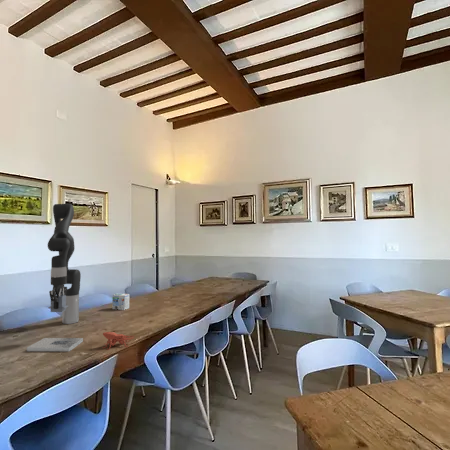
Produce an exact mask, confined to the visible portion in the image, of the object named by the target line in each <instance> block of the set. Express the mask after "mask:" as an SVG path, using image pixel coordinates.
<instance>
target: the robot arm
mask: <svg viewBox="0 0 450 450" xmlns="http://www.w3.org/2000/svg"><path fill="white" fill-rule="evenodd" d="M52 214H53V220H54V225H55V227H54V230H53V234H52V235H51V237H50V238H49V239H48V241H47V248H48V250H49V251H50V252H58V255H54V256H52V257H51V260H50V261H51V268H50V285H51V286H52V290H49V297H50V298H49V299H50V302H51V301H53V302H54V309H58V301H59V297H60V295H66V306H68V307H66V310H65V311H63V312H62V317H61V318H62V321H61V322H62V324H63V325H66V324H67V325H71V324H75V323H78V322H79V319H80V318H79V317H80V290H81V289H80V288H81V277H82V276H81V274H82V273H81V270H80V269H75V268H73V269H71V268H70V269H69V261H70V259H71V257H72V256H73V254H74V253H75V239H74V236H73V235H72V234H71V233H70V232H69V228H70V225H71V224H72V221H73V220H74V219H73V218H74V215H75V211H74V206H73V204H72V203H56V204H54V205H53V207H52ZM65 285H71V286H70V287H69V288H68V287H67V286H65ZM56 295H58V296H56ZM56 297H57V299H56Z"/></svg>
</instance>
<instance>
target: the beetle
mask: <svg viewBox="0 0 450 450" xmlns="http://www.w3.org/2000/svg"><path fill="white" fill-rule="evenodd" d="M102 335H103V336H104V338H105V339H106V340H107V341H106V343H104V345H105V347H104V346H103V347H102V349H105V348H106V350H107V351H108V350H111V347H112V346H115V344H117V342H118V343H119V344H120V345H123V344H124V347H125V348H129V345H127V343H129V342H130V340H133V339H135V336H134V335H125V334H122V333H121V334H120V333H119V334H117V333H116V332H113V331H107V332H106V331H105V332H103V333H102ZM108 344H109V347H108ZM107 347H108V348H107Z"/></svg>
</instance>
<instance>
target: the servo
mask: <svg viewBox="0 0 450 450" xmlns="http://www.w3.org/2000/svg"><path fill="white" fill-rule="evenodd" d="M56 296H58V295H56ZM56 299H57V297H56ZM47 307H48V309H50V313H63V311H65V310H66V307H68V306H66V295H60V297H59V301H58V309H54V302H53V301H51V300H50V306H47Z"/></svg>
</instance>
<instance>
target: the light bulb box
mask: <svg viewBox="0 0 450 450" xmlns="http://www.w3.org/2000/svg"><path fill="white" fill-rule="evenodd" d="M111 307H112V308H111V309H112V310H117V309H118V311H125V309H126V310H127V309H130V293H118V292H117V293H114V294H112V305H111Z"/></svg>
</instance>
